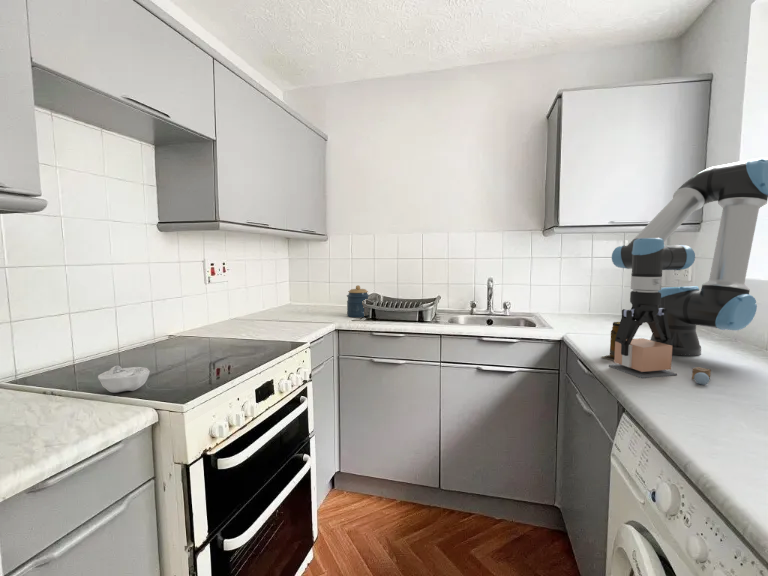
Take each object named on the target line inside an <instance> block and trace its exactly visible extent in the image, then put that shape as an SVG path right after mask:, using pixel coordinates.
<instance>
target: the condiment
mask: <svg viewBox="0 0 768 576" xmlns="http://www.w3.org/2000/svg"><path fill="white" fill-rule="evenodd" d="M619 325H620V321H614V322H612V327H611V330H610V344H609V354H607V355H604V356H601V358H602V359H605V360H606V359H607V360H610V361H613V362H614V357H615V338H616V335H617V331H618V328H619ZM620 339H621V338H620Z"/></svg>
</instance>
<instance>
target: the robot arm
mask: <svg viewBox="0 0 768 576" xmlns="http://www.w3.org/2000/svg"><path fill="white" fill-rule="evenodd" d="M713 202H717V204H718V205H719V206H720V207H721V209H722V212H721V216H720V221H719V227H718V231H717V232H718V233H717V237H716V242H715V248H714V253H713V258H712V263H711V267H710V273H709V279H708V280H707V281H706V282H704V283H703V284H701V289H700V288H699V286H698V285H692V286H672V287H662V284H663V283H662V279H663V271H681V270H687V269H688V268H690V267H692V265H693V264H694V263H695V260H696V253H695V251H694V250H693V248H692V247H691V246H689V245H685V244H665V242H666V241H667V240H668V238H669V237H671V236H672V234H673V233H674V232H675V231H676V230H678V229H679V227H680V226H681V225H682V224H683V223H684V221H686V220H687V219H688V218H689V217H690V216H691V215H692V214H693V212H696V211H698V210H701V209H702V208H703V206H705V205H707V204H709V203H713ZM767 203H768V157H758V158H749V159H747V160H742V161H736V162H732V163H731V162H730V163H727V164H721V165H714V166H711V167H708V168H706V169H704V170H702V171H700V172H698V173H696V174H694V176H692V177H691V178H689V179H688V180H687V181H686V182H683V183H682V184H681V186H679V188H677V189H676V190H675V192H674V193H673V194H672V198H671V200H670V201H669V202H668V203H667V204H666V205H665V206H664V207H663V208H662V209H661V210H660V211H659V212H658V214H656V216H655V217H653V218H652V220H650V221H649V223H648V224H647V225H646V226H645V227H644V228H643V229H642V230H640V231H639V233H638V234H637V235H636V236H635V237H634V238H633V239H632V241H630V242H629V243H628V244H627V245H624V244H623V245H621V246H617V247H615V248H614V249H613V250H612V253H611V262H612V264H613V265H614V267H617V268H619V269H628V270H631V278H630V289H631V291H630V294H629V297H630V298H629V303H630V304H631V308H630V309H624V308H623V309H622V310H621V318H620V321H619V322H620V325H619V328H618V331H617V335H616V338H615V341H616V342H619V343H621V355H622V365H624V366H626V367H631V366H632V345H630V343H631V341H632V339H634V337H635V336H636V334H637V332H638V329H639V328H640V327H641V326H642V325H643V324H644V323H647V324H648V326H649V329H650V331H651V333H652V334H651V337H650V339H649V340H652V341H656V342H660V343H664V344H668V345H672V356H673V355H675V356H685V357H686V356H688V357H690V356H692V357H693V356H699V355H701V354H702V346H701V344H700V341H699V340H700V339H699V337H698V334H697V326H699V327H707V328H713V329H718V330H723V331H725V330H726V331H740V330H743V329H745V328H746V327H747V326H749V325H750V324H751V322H752V321H753V320H754V319H755V318H754V317H755V315H756V314H757V307H758V306H757V301H756V298H755V297H754V296H753V295H751V294H750V288H749V287H748V286H747V285H746V284H745V282H746V276H747V272H748V267H749V261H750V257H751V253H752V247H753V241H754V237H755V231H756V226H757V221H758V217H759V216H758V215H759V211H760V208H762V207H764V206H765V205H766V204H767ZM620 338H621V339H620ZM626 339H627V341H626Z"/></svg>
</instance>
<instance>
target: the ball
mask: <svg viewBox="0 0 768 576" xmlns="http://www.w3.org/2000/svg"><path fill="white" fill-rule="evenodd" d="M693 380H694V381H695V383H697V384H698V385H700V386H701V385H702V386H703V385H707V384H708V383H709V382H710V380H709V376H708V375H707V374H705V373H702V372H699V373H696V374H695V376H694V379H693Z"/></svg>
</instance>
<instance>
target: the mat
mask: <svg viewBox="0 0 768 576" xmlns="http://www.w3.org/2000/svg"><path fill="white" fill-rule="evenodd" d="M608 367H610V368H613V369H616V370H618V371H621V372H624V373H626V374H629V375H632V376H634V375H635V376H634V377H638V378H640V377H641V378H640V379H646V378H647V377H648V378H647V379H649V377H650V378H660V377H669V376H670V377H671V376H672V375H673V376H678V374H677V373H675V372H672V371H669V370H658V371H646V372H641V371H638V370H635V369H632V368H629V367H626V366H624V365H621V364H618V363H615V364H609V365H608Z"/></svg>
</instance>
